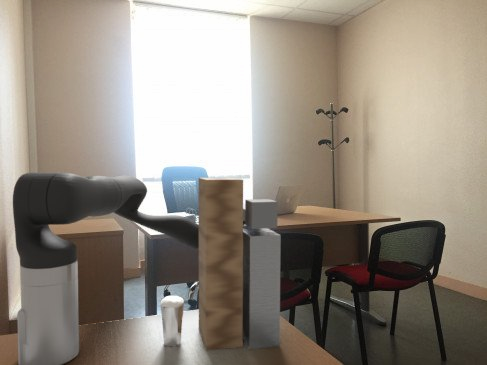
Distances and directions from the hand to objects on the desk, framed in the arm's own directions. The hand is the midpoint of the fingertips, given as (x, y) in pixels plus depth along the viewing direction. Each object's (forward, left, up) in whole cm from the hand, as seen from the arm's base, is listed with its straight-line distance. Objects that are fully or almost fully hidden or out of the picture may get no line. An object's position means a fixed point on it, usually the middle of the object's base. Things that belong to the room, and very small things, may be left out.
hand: (246, 205), depth 88 cm
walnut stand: (-8, -8, -26) cm, 28 cm away
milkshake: (-17, -9, -26) cm, 32 cm away
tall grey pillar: (0, -9, -26) cm, 27 cm away
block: (0, -5, -3) cm, 5 cm away
